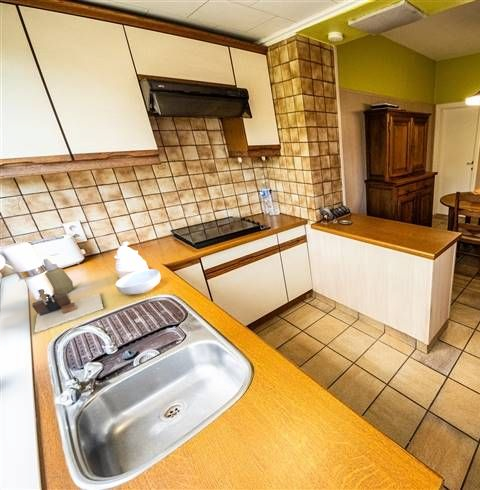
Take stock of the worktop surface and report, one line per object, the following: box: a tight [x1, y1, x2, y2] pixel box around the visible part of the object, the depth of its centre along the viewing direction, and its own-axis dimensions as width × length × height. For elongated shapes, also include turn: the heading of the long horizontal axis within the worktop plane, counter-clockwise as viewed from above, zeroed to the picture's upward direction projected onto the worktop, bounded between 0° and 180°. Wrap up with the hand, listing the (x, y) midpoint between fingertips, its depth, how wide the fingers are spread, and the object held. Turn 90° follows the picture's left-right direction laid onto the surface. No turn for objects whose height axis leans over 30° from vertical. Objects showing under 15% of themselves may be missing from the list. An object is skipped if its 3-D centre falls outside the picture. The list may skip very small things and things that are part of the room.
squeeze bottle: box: [43, 258, 74, 296], centre depth 128 cm, size 8×8×18 cm
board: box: [34, 292, 105, 334], centre depth 115 cm, size 20×17×1 cm
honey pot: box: [113, 241, 150, 279], centre depth 143 cm, size 13×13×18 cm
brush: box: [31, 292, 72, 316], centre depth 115 cm, size 10×3×6 cm, turn 137°
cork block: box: [61, 303, 77, 314], centre depth 115 cm, size 4×4×2 cm
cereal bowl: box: [115, 268, 162, 296], centre depth 128 cm, size 17×17×7 cm
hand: (55, 307), depth 116 cm, fingers closed on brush, 3 cm apart
